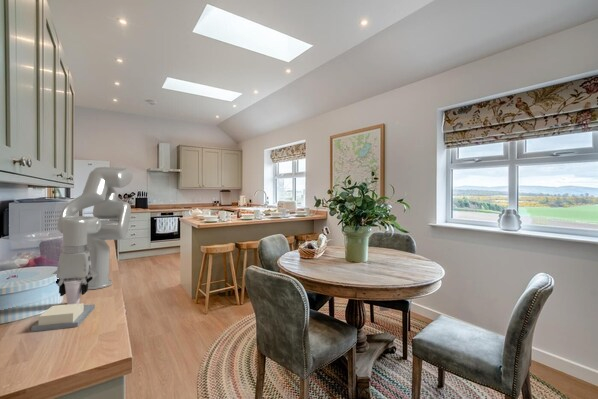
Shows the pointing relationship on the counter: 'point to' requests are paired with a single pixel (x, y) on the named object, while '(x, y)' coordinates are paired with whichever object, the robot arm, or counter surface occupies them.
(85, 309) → the base board
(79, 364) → the counter surface
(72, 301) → the smoothie
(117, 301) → the counter surface
